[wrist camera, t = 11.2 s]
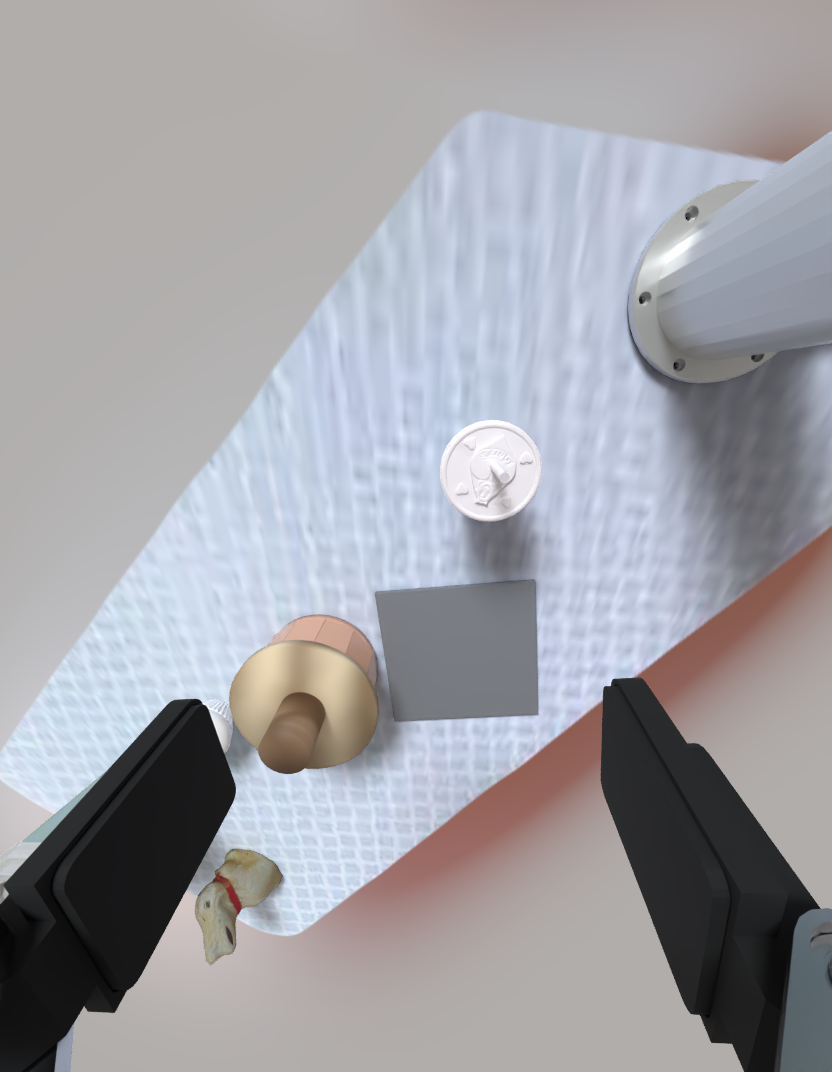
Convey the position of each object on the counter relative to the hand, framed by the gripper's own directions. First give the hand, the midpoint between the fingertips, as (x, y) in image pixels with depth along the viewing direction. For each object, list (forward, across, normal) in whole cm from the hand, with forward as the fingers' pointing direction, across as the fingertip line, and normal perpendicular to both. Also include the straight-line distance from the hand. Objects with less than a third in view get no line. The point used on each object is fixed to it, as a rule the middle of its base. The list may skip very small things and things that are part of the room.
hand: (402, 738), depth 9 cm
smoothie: (+28, -4, -2) cm, 28 cm away
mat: (+27, 0, +17) cm, 32 cm away
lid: (+21, +13, +17) cm, 30 cm away
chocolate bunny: (+26, +29, +46) cm, 61 cm away
